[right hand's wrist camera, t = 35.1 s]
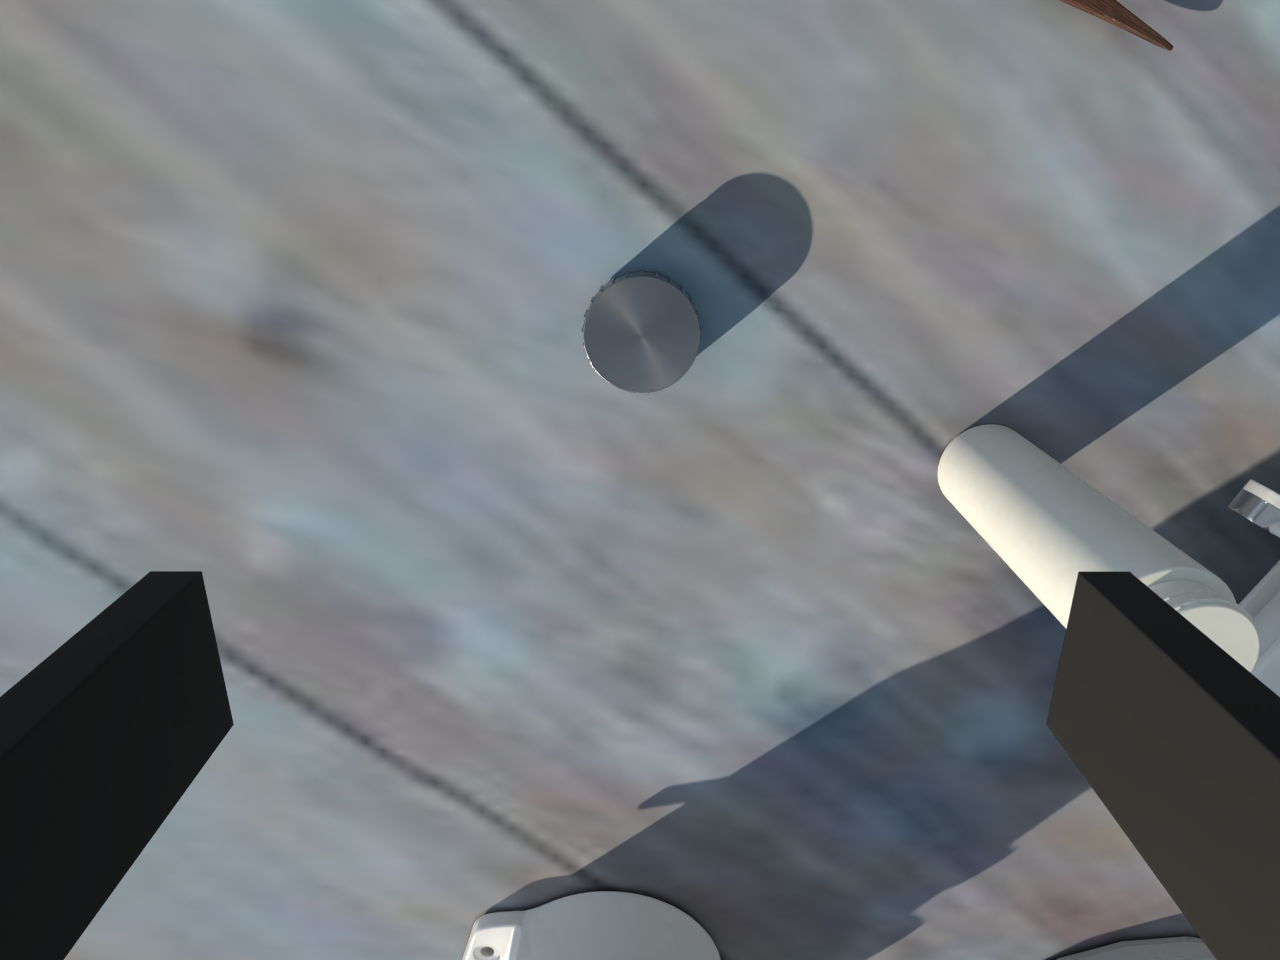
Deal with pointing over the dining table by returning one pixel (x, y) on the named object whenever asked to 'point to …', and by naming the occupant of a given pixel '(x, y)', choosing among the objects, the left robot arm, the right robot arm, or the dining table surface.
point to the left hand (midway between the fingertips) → (1170, 586)
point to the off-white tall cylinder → (1078, 535)
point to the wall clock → (1149, 950)
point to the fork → (1120, 19)
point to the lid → (641, 332)
